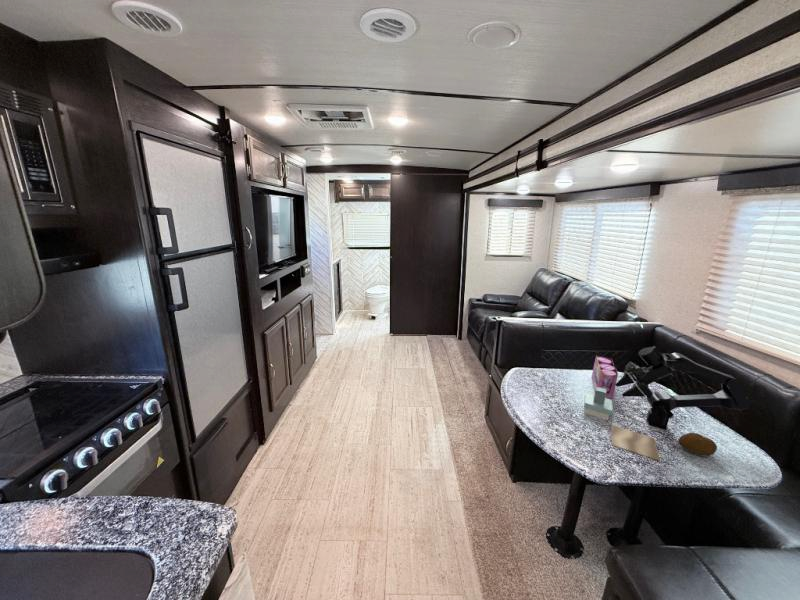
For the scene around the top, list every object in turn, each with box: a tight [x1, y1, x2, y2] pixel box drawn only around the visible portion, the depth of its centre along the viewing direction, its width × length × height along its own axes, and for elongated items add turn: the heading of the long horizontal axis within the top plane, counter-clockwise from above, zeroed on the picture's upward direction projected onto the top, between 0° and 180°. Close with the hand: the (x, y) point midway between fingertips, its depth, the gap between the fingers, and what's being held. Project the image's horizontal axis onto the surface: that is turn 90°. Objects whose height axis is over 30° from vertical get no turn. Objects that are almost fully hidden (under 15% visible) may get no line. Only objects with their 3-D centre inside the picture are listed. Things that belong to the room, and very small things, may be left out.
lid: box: [583, 387, 613, 416], centre depth 144 cm, size 11×11×8 cm
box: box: [584, 408, 610, 421], centre depth 145 cm, size 9×9×4 cm
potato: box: [677, 432, 718, 457], centre depth 121 cm, size 8×12×8 cm, turn 87°
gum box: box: [591, 355, 619, 400], centre depth 166 cm, size 24×8×14 cm, turn 153°
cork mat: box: [610, 424, 661, 462], centre depth 126 cm, size 15×15×1 cm
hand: (619, 390), depth 140 cm, fingers open, 9 cm apart
